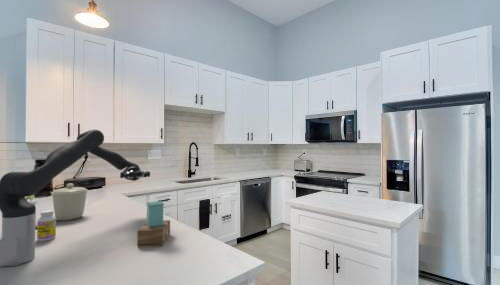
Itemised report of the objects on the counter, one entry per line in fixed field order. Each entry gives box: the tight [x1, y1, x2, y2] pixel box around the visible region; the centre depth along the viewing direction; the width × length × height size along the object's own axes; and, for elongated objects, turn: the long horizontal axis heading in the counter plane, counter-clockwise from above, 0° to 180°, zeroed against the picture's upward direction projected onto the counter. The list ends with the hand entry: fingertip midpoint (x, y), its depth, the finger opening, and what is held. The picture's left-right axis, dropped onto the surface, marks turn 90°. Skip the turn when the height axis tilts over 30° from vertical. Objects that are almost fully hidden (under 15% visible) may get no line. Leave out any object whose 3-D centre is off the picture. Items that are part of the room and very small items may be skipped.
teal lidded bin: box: [146, 200, 164, 228], centre depth 112 cm, size 6×6×10 cm
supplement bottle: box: [36, 209, 57, 242], centre depth 115 cm, size 7×7×13 cm
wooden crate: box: [136, 219, 171, 248], centre depth 112 cm, size 14×10×7 cm
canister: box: [50, 182, 89, 221], centre depth 149 cm, size 18×18×21 cm
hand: (136, 175), depth 125 cm, fingers open, 8 cm apart
